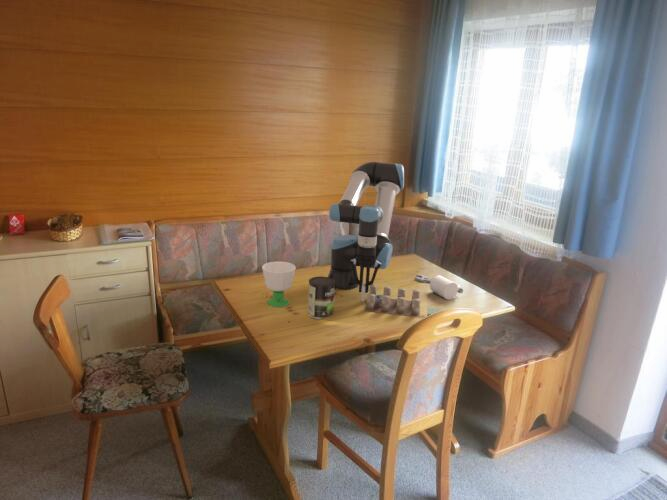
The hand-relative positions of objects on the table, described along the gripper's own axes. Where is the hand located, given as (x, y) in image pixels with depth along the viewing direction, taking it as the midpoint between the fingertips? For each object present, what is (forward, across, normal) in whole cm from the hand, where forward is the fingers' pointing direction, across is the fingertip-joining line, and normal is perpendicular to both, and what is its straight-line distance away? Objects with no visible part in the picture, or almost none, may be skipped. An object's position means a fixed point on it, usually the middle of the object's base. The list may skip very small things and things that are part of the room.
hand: (362, 299), depth 202 cm
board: (+3, +13, 0) cm, 13 cm away
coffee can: (+3, -15, -13) cm, 20 cm away
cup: (+3, -34, -7) cm, 35 cm away
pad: (+3, +28, 0) cm, 28 cm away
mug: (+3, +35, +22) cm, 42 cm away
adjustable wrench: (+3, +32, +34) cm, 47 cm away
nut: (+2, +7, 0) cm, 7 cm away
